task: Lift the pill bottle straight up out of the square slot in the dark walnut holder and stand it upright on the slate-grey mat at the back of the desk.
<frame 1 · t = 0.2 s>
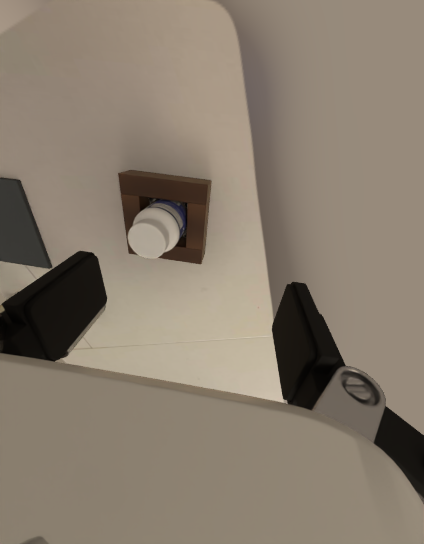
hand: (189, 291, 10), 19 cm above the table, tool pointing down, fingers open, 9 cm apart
holder: (171, 215, 28), on the table
grey hollow tube: (94, 302, 40), on the table
pill bottle: (171, 215, 29), resting in holder
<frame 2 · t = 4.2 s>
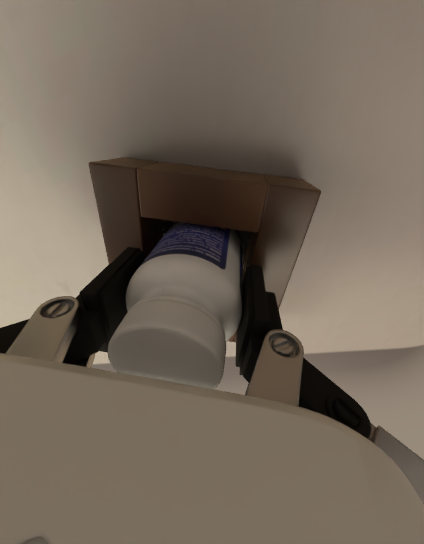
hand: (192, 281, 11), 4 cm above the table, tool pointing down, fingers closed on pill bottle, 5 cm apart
holder: (203, 249, 14), on the table
pill bottle: (204, 248, 15), resting in holder, touching gripper
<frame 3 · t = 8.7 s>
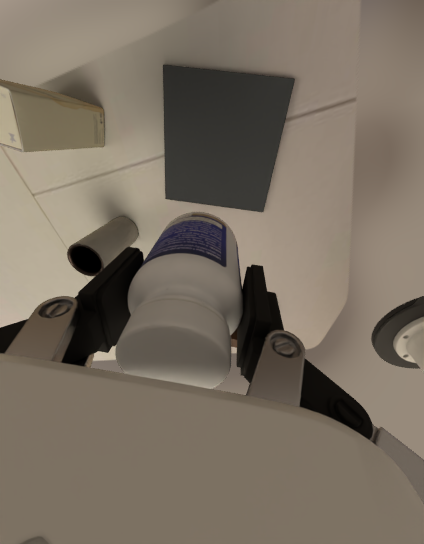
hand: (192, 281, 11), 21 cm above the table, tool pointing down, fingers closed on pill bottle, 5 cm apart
grey hollow tube: (125, 229, 34), on the table
pill bottle: (200, 247, 15), point 17 cm above the table, touching gripper
mat: (220, 148, 26), on the table
cosmetic box: (81, 121, 27), on the table
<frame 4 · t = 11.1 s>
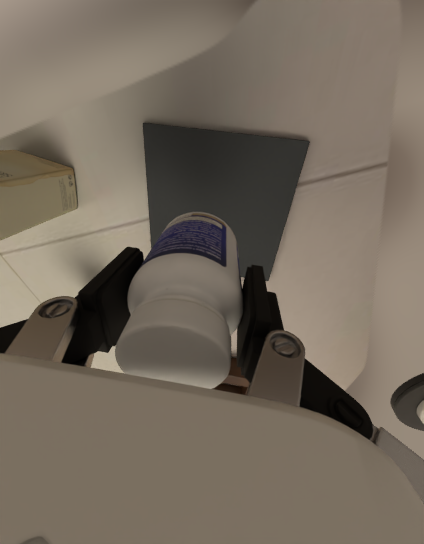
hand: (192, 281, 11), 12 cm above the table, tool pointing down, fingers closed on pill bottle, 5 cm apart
holder: (227, 375, 36), on the table
pill bottle: (200, 247, 15), point 8 cm above the table, touching gripper
mat: (216, 213, 22), on the table
cosmetic box: (49, 181, 22), on the table
when the fingers open (5 cm above the table, at t = 13.3 s): pill bottle stays where it is, resting on mat.
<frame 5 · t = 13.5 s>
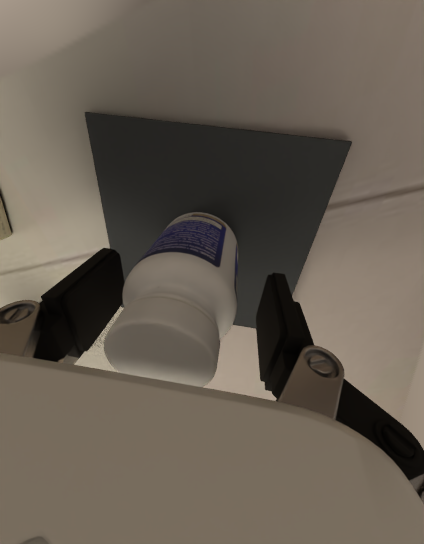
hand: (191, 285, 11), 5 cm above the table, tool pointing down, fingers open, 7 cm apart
pill bottle: (201, 247, 15), resting on mat
mat: (205, 244, 15), on the table
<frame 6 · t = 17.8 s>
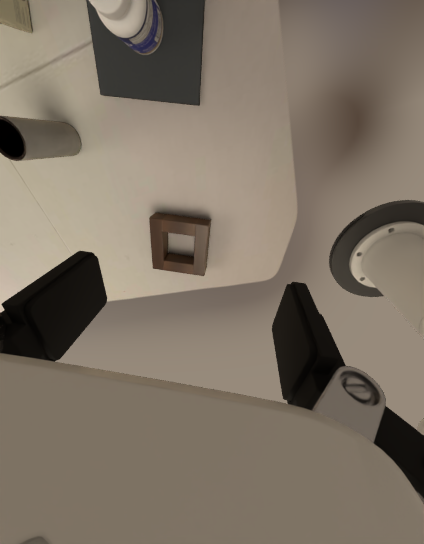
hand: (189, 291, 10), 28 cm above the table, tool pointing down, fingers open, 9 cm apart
holder: (182, 241, 40), on the table
grey hollow tube: (68, 139, 33), on the table
pill bottle: (143, 26, 25), resting on mat
mat: (146, 27, 26), on the table
cosmetic box: (6, 3, 26), on the table
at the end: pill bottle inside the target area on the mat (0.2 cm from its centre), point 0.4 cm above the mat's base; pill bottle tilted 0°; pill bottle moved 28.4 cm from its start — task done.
